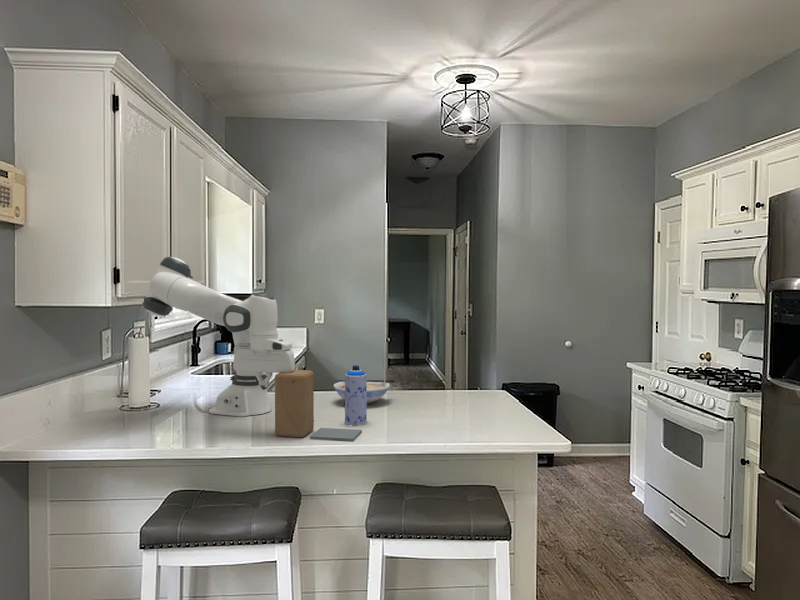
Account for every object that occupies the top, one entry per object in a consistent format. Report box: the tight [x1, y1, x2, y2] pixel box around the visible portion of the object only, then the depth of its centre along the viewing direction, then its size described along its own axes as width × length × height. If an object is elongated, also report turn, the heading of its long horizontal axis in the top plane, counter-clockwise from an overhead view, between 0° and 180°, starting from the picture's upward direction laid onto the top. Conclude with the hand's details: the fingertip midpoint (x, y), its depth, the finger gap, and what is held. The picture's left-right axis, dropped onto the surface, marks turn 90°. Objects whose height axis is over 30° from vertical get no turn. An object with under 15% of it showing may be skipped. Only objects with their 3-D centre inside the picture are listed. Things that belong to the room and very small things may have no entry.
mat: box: [309, 427, 363, 442], centre depth 186 cm, size 14×11×1 cm
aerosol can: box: [344, 365, 368, 427], centre depth 203 cm, size 8×8×20 cm
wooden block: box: [274, 369, 315, 438], centre depth 189 cm, size 10×10×20 cm
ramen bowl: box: [333, 379, 396, 405], centre depth 236 cm, size 25×23×8 cm
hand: (264, 385), depth 190 cm, fingers closed
